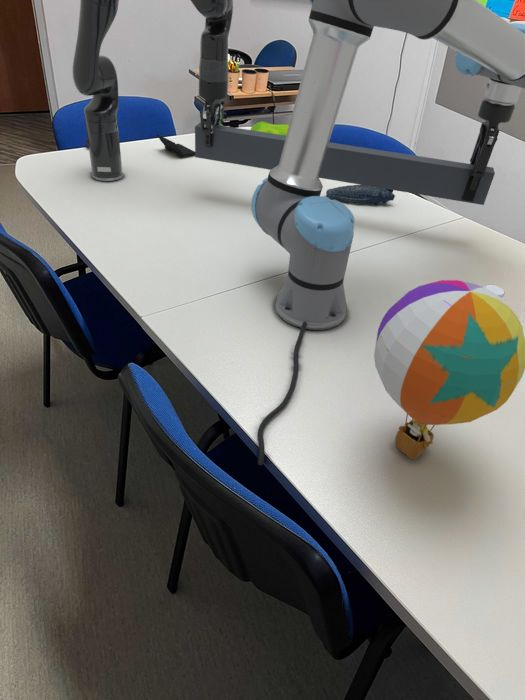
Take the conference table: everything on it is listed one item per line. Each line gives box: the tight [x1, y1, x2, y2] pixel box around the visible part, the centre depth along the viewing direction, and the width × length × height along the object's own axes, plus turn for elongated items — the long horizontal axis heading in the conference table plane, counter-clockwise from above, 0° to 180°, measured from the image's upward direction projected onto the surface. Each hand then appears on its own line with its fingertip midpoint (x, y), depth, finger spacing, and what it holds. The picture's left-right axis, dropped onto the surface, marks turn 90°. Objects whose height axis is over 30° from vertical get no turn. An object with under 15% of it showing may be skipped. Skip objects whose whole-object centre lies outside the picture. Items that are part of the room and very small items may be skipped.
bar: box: [194, 121, 496, 206], centre depth 140 cm, size 79×4×8 cm, turn 75°
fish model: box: [325, 184, 396, 206], centre depth 161 cm, size 7×21×5 cm, turn 84°
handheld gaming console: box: [156, 133, 195, 158], centre depth 183 cm, size 12×7×10 cm
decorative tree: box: [250, 121, 289, 136], centre depth 186 cm, size 18×10×30 cm
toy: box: [373, 279, 525, 460], centre depth 74 cm, size 20×20×30 cm
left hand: (211, 143), depth 146 cm, fingers closed on bar, 4 cm apart
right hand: (466, 196), depth 137 cm, fingers closed on bar, 4 cm apart
